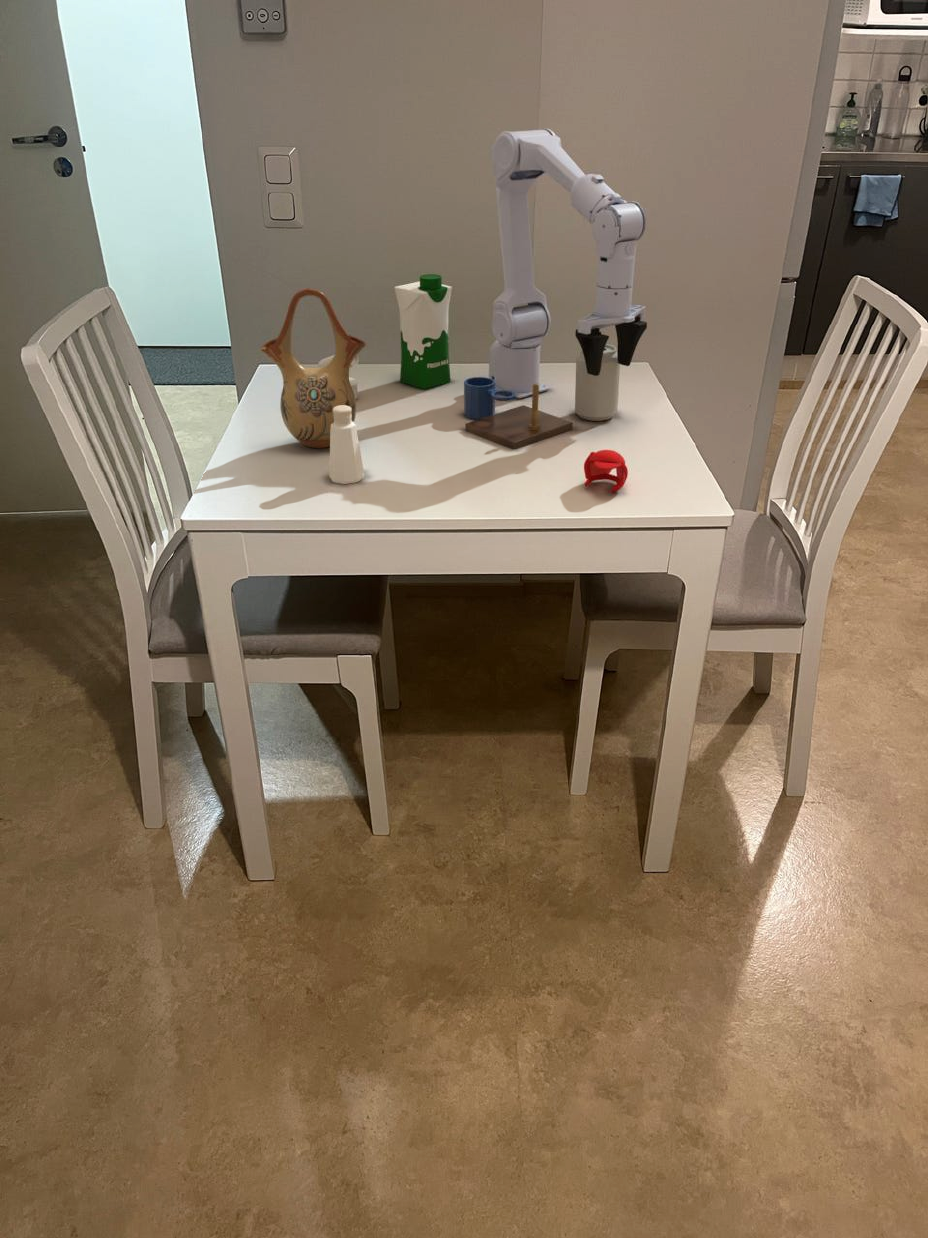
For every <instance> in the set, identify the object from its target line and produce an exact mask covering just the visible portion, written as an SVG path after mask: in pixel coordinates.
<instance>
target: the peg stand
mask: <svg viewBox="0 0 928 1238" xmlns="http://www.w3.org/2000/svg"><path fill="white" fill-rule="evenodd" d="M539 394H540V392H539V385H538V384H537V383H535V384H533V395H531V396H532V399H531V407H530V406H527V405H525V404H523V405H519V406H516V407H513V408H511V409H507V410H504V411H501V412H497V413H494V414H493V415H491V416H488V417H484V418H481V419H478V420H477V419H474V420H472V421H469V422H465V423H464V424H465V425H464V427H465V429H464V430H465V431H467V432H469V433H472V434H474V435H477V436H480V437H482V438H485V439H487V440H490V441H492V442H495V443H497V444H500V445H502V446H505V447H507V448H510V449H513V450H516V449H519V448H522V447H525V446H527V445H531V444H535V443H537V442H538V441H539V442H540V441H542V440H545V439H548V438H551V437H553V436H556V435H559V434H562V433H565V432H569V431H570V430H573V428H574V423H573V421H570V420H567V419H565V418H561V417H559V416H556V415H553V414H550V413H547V412H544V411H541V410H539V397H540V396H539Z"/></svg>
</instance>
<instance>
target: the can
mask: <svg viewBox="0 0 928 1238" xmlns="http://www.w3.org/2000/svg"><path fill="white" fill-rule="evenodd" d="M617 349H618V347H617V346H615V345H613V344H609V343H606V345H605V348H604V352H603V356H602V363H601V370H600V373H599V375H598V376H594V375H591V374H587V369H586V363H585V359H584V354H583V351H582V348H581V347H580V349H579V350H580V352H579V353H578V354H577V355H576V358H575V386H574V387H575V390H574V392H575V393H574V394H575V395H574V411H575V413H576V414H577V416H579V417H580V419H582V420H587V421H595V422H596V421H598V422H599V421H606V420H610V419H612V418H613V416H615V415H616V414H617V413H618V411H619V410H618V409H619V390H620V371H621V364H618V359H617Z"/></svg>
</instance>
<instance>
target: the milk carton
mask: <svg viewBox="0 0 928 1238" xmlns="http://www.w3.org/2000/svg"><path fill="white" fill-rule="evenodd" d="M442 281H443V280H442V275H440V274H434V273H433V274H432V273H430V274H429V273H427V274H422V275H420V276H419V281H415V282H411V283H407V284H402V285H397V286H394V292H395V296H396V301H397V305H398V308H399V327H400V331H399V332H400V374H399V375H400V376H399V378H400V379H399V382H401V383H403V384H407V385H409V386H413V387H416V388H419V389H422V390H428V389H430V388H434V387H438V386H440V385H441V386H442V385H444V384H448V383H451V380H452V379H451V367H450V366H451V365H450V348H449V347H450V346H449V343H450V342H449V308H450V301H451V295H452V291H453V286H450V285H447V284H442Z"/></svg>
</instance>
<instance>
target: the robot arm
mask: <svg viewBox="0 0 928 1238" xmlns="http://www.w3.org/2000/svg"><path fill="white" fill-rule="evenodd" d="M491 160H492V161H491V162H492V172H493V173H492V174H493V183H494V185H495V193H496V204H497V213H498V224H499V226H498V227H499V238H500V248H501V249H500V250H501V258H502V259H501V260H502V271H503V281H504V282H503V283H504V290H503V291H502V292H501V293H500V295H499V296H498V297H497V298H496V299H495V300H494V301H493V303H492V304H493V316H492V320H491V328H492V329H491V330H492V333H493V336H494V338H495V341H493V343H492V344H491V346H490V349H489V353H488V378H490V379H493V380H494V381H495V389H496V390H508V391H509V390H510V391H513V392H515V393H516V399H524V398H526V397H529V396H533V384H535V383H537V384H538V385H539V393H543V392H546V391H548V390H549V387H548V386H546V385H544V384H540V368H541V367H540V366H541V365H540V363H541V344H542V343H544V342H545V337H547V335H548V334H549V332H550V330H551V327H552V326H551V325H552V318H551V313H550V311H549V309H548V304H547V297H546V295H545V294H544V293H543V292H542V291H541V290H539V289H538V288H537V287H536V286H535V275H534V262H533V249H532V248H533V247H532V237H531V223H530V210H529V209H530V208H529V198H528V197H529V196H528V193H529V191H530V189H531V188H532V187H533V185H534V184H535V183H536V182H537V181H539V180H540V179H541V178H542V177H543V176H544V175H546V174H547V175H548V176H549V177H550V178H551V179H553V180H554V181H555V182H556V183H557V184H558V185H560V186H561V187H562V188H563V189H564V190H565V191H567V192H568V193H569V202H570V204H571V207H573V208H574V209H575V210H576V211H577V212H578V213H579V214H580V215H581V216H582V217H583V218H584V219H585V220H586V221H587V222H588V223H589V224H590V225H591V230H592V236H593V238H594V240H595V252H596V255H597V256H598V259H597V273H596V274H597V275H596V293H595V306H594V311H593V312H592V313H590V314H589V315H587V316H585V317H583V318H581V319H578V320H577V328H576V329H575V334H574V335H575V338H576V339H577V342H578V344H579V345H580V348H582V351H583V354H584V359H585V363H586V369H587V374H591V375H594V376H598V375H599V373H600V370H601V363H602V356H603V352H604V348H605V345H606V344H608V343H607V342H608V340H609V338H610V336H609V335H607V334H603V333H602V331H600V330H602V329H605V328H610V327H615V333H616V340H617V341H616V342H617V351H616V352H617V359H618V364H620V366H621V365H622V366H624V367H630V365H631V363H632V360H633V357H634V355H635V351H636V349H637V346H638V344H639V341H640V339H641V337H642V335H643V334H644V332H645V331H646V330H647V328H648V322H646V321H644V319H645V317H646V306H643V305H639V304H635V305H632V301H633V300H632V299H633V290H634V289H633V286H634V276H635V275H634V274H635V265H636V264H635V263H636V251H637V241H639V240H641V238H643V235H644V234H645V231H646V228H647V217H646V214H645V211H644V209H643V208H642V206H641V204H640V203H639V202H638V201H634V200H632V201H627V200H625V199H622V196H621V195H620V194H619V193H617V192H615V191H614V190H613V189H612V188H611V187H610V186H609V185H608V184H607V183H606V182H604V180H605V178H604V177H603V176H602V175H601V174H595V173H588V174H585V173H584V172H583V171H582V170H581V168H580V167H579V166H578V164H577V163H576V162H575V161H574V160H573V159H572V158H571V156H570V155H568V153H567V152H566V151H565V149H564V148H562V140H561V137H559V136H558V135H556V134H555V132H554V131H553V130H552V129H550V128H541V129H533V130H532V129H531V130H517V131H510V130H504V131H502V132H500V134H499V135H498V136H497V137H496V139H495V141H494V143H493V145H492V147H491ZM506 395H508V394H506ZM508 396H511V395H508Z"/></svg>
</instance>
